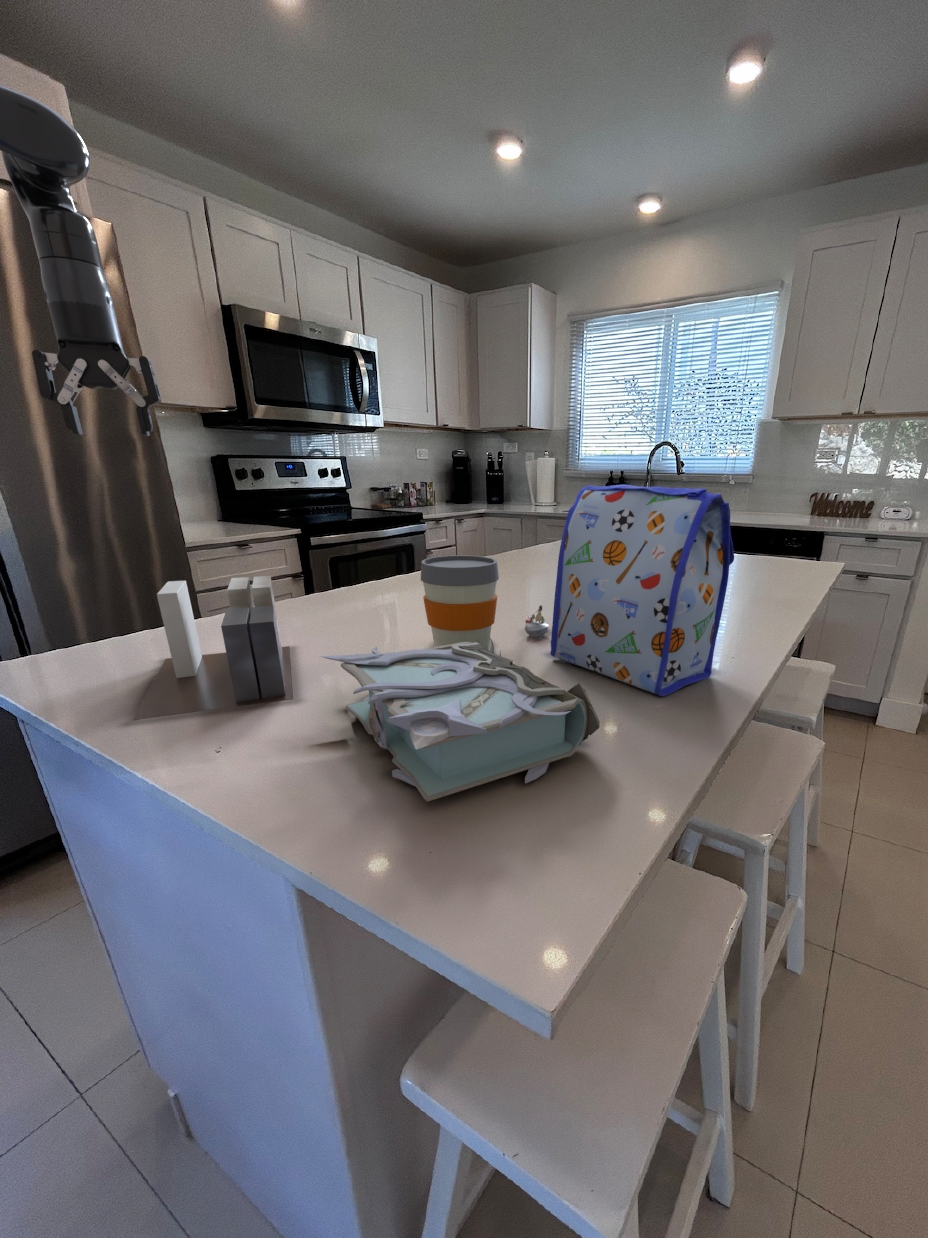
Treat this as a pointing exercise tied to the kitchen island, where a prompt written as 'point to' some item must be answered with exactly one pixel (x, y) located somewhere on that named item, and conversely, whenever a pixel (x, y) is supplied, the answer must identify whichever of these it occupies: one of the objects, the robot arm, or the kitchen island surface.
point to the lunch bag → (642, 584)
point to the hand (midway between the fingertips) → (112, 435)
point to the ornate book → (465, 715)
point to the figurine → (536, 625)
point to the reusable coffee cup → (460, 598)
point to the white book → (180, 628)
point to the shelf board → (200, 688)
